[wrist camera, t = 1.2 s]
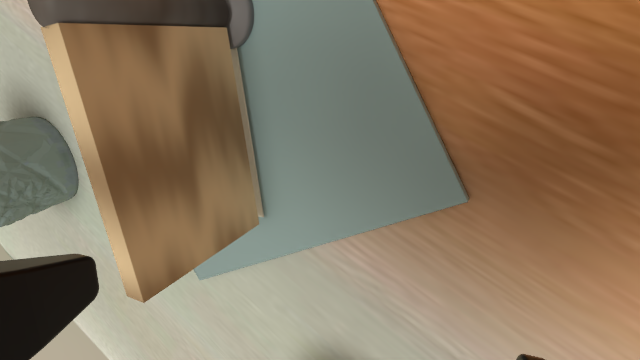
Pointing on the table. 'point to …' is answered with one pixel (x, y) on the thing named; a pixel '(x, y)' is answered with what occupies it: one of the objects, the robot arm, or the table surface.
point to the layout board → (328, 128)
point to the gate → (155, 128)
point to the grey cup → (33, 168)
